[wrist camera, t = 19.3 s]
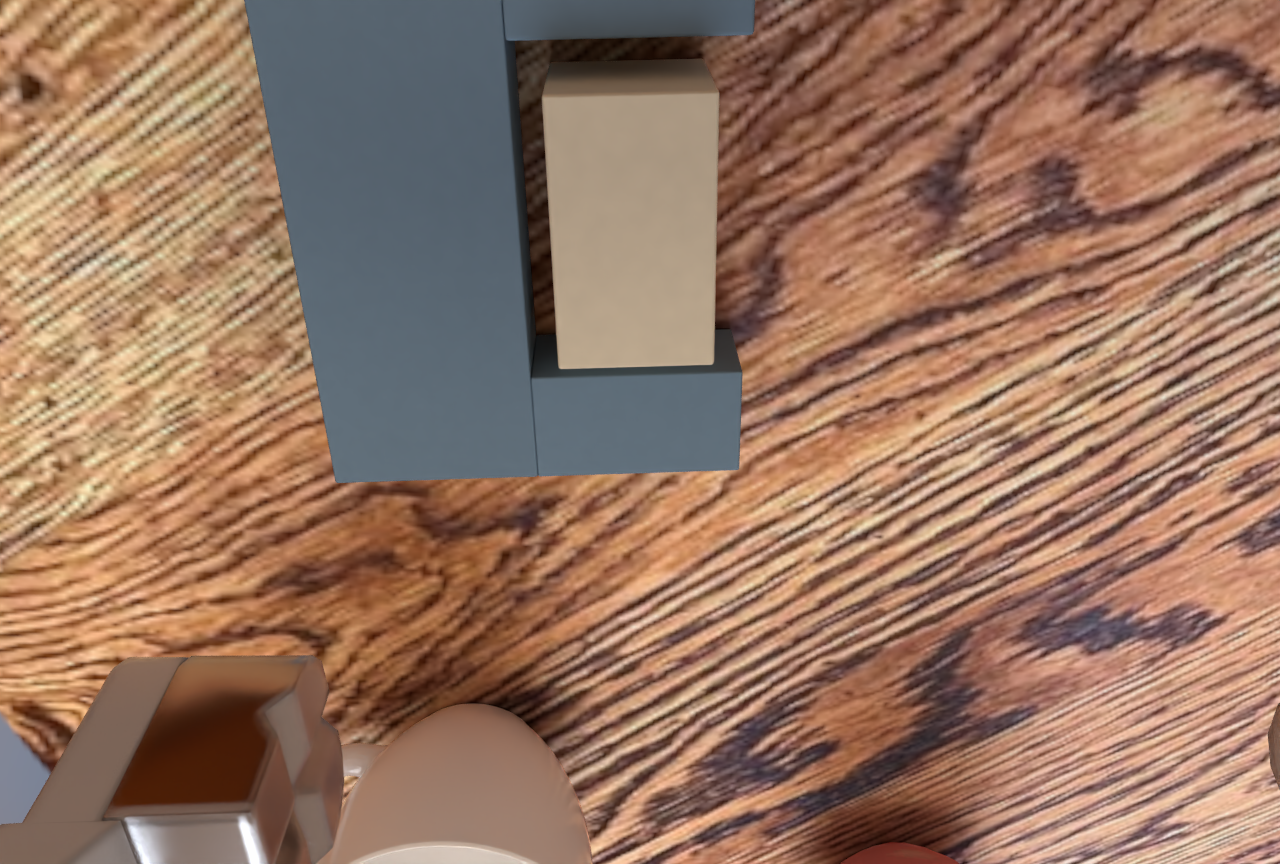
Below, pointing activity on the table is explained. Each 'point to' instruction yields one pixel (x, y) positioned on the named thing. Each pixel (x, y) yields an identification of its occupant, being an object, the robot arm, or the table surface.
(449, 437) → the u-shaped bracket
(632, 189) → the beige block
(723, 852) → the table surface
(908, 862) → the apple
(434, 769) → the cup
